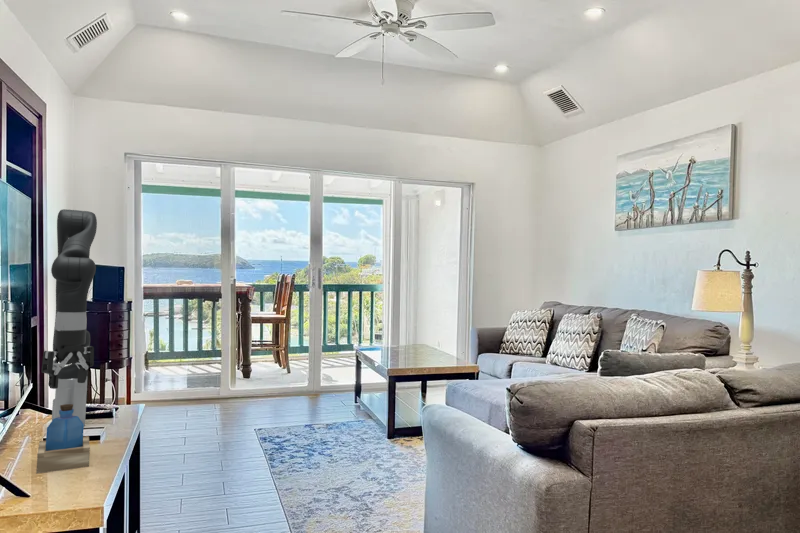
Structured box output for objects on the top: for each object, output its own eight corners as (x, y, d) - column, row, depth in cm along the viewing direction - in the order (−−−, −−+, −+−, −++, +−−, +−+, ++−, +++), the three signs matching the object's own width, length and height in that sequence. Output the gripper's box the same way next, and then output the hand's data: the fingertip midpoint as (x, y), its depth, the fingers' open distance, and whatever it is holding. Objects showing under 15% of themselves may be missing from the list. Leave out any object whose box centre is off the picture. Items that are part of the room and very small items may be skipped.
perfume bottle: (64, 453, 144) (66, 408, 144) (45, 450, 145) (48, 406, 145) (82, 446, 150) (84, 403, 150) (64, 444, 151) (66, 402, 151)
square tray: (38, 459, 149) (39, 441, 149) (87, 453, 155) (88, 435, 155) (36, 473, 139) (37, 453, 139) (88, 466, 145) (89, 447, 145)
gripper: (83, 325, 156) (80, 379, 156) (36, 328, 142) (33, 388, 142) (102, 326, 154) (99, 382, 153) (57, 330, 140) (54, 391, 140)
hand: (67, 385), depth 148 cm, fingers open, 8 cm apart
